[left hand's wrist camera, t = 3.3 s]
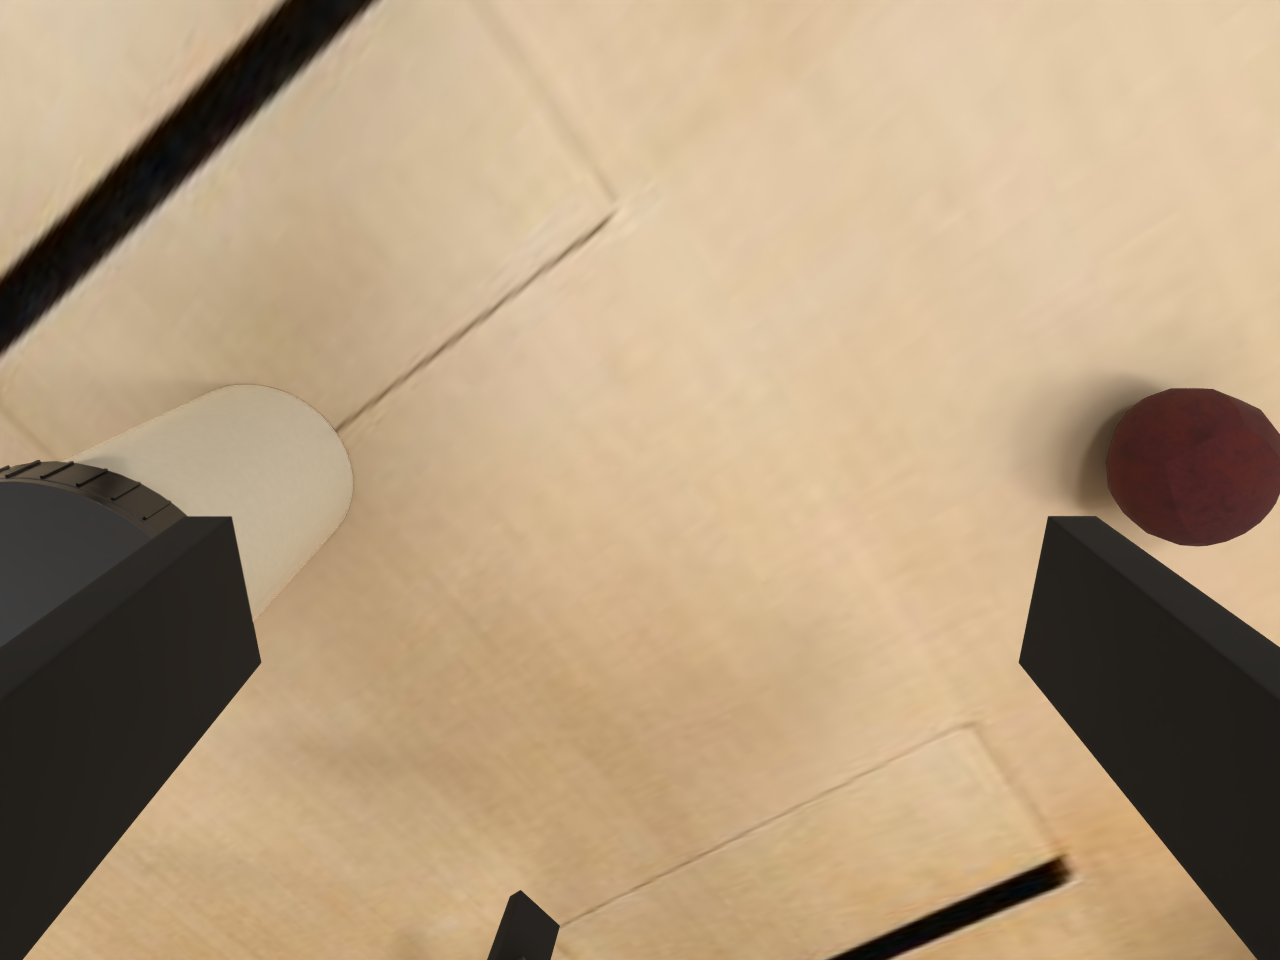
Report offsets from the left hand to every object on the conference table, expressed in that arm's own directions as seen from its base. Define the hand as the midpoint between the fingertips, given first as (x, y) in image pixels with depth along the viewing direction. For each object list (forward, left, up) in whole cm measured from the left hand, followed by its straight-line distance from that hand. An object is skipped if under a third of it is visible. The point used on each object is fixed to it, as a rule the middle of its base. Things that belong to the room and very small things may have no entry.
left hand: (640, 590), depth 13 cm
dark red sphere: (+6, +27, -28) cm, 39 cm away
